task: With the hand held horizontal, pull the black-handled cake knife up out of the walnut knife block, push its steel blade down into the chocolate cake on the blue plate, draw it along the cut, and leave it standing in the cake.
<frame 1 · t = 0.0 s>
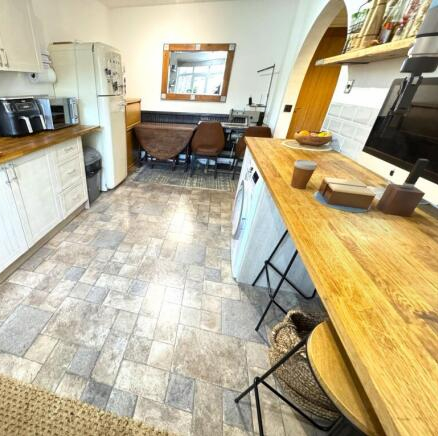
hand: (384, 134, 78), 30 cm above the counter, tool pointing down, fingers open, 13 cm apart
knife block: (392, 211, 95), on the counter
disposable coffee cup: (297, 186, 117), on the counter
cake knife: (407, 187, 90), in the knife block
cake: (340, 201, 103), on the counter
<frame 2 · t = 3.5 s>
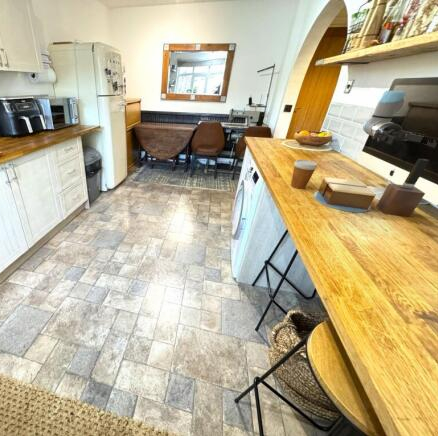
hand: (415, 142, 90), 25 cm above the counter, tool horizontal, fingers open, 13 cm apart
nothing on the counter moved.
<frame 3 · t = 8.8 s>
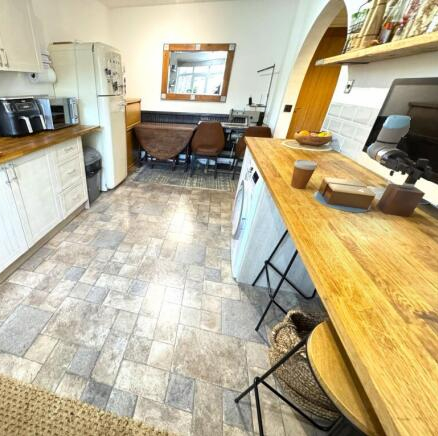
hand: (425, 176, 82), 17 cm above the counter, tool horizontal, fingers closed on cake knife, 2 cm apart
cake knife: (407, 186, 90), in the knife block, touching gripper
everything else where it was.
when the fingers open (17 cm above the counter, at t = 18.8 s): cake knife stays where it is, resting on cake.
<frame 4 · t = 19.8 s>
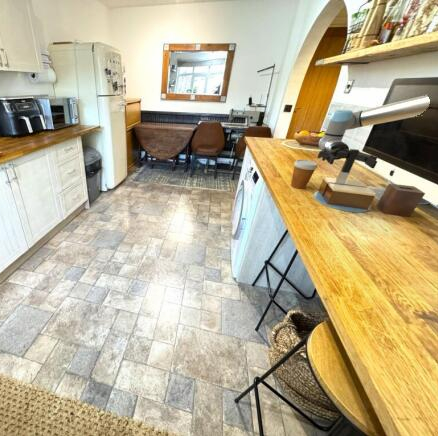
hand: (353, 162, 92), 18 cm above the counter, tool horizontal, fingers open, 13 cm apart
cake knife: (343, 175, 98), point 11 cm above the counter, touching cake
everything else where it was.
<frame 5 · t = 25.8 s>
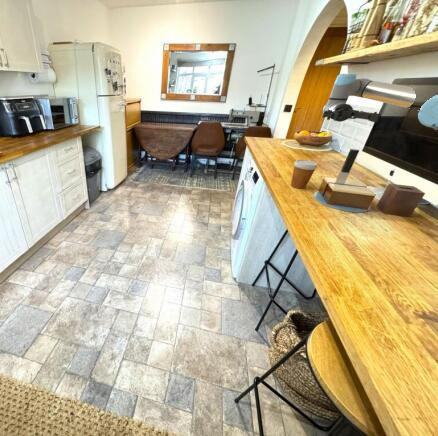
hand: (357, 118, 95), 32 cm above the counter, tool horizontal, fingers open, 13 cm apart
nothing on the counter moved.
at the end: cake knife 3.1 cm from the cake (horizontally); cake knife point 11.3 cm above the counter; cake knife tilted 0° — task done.
